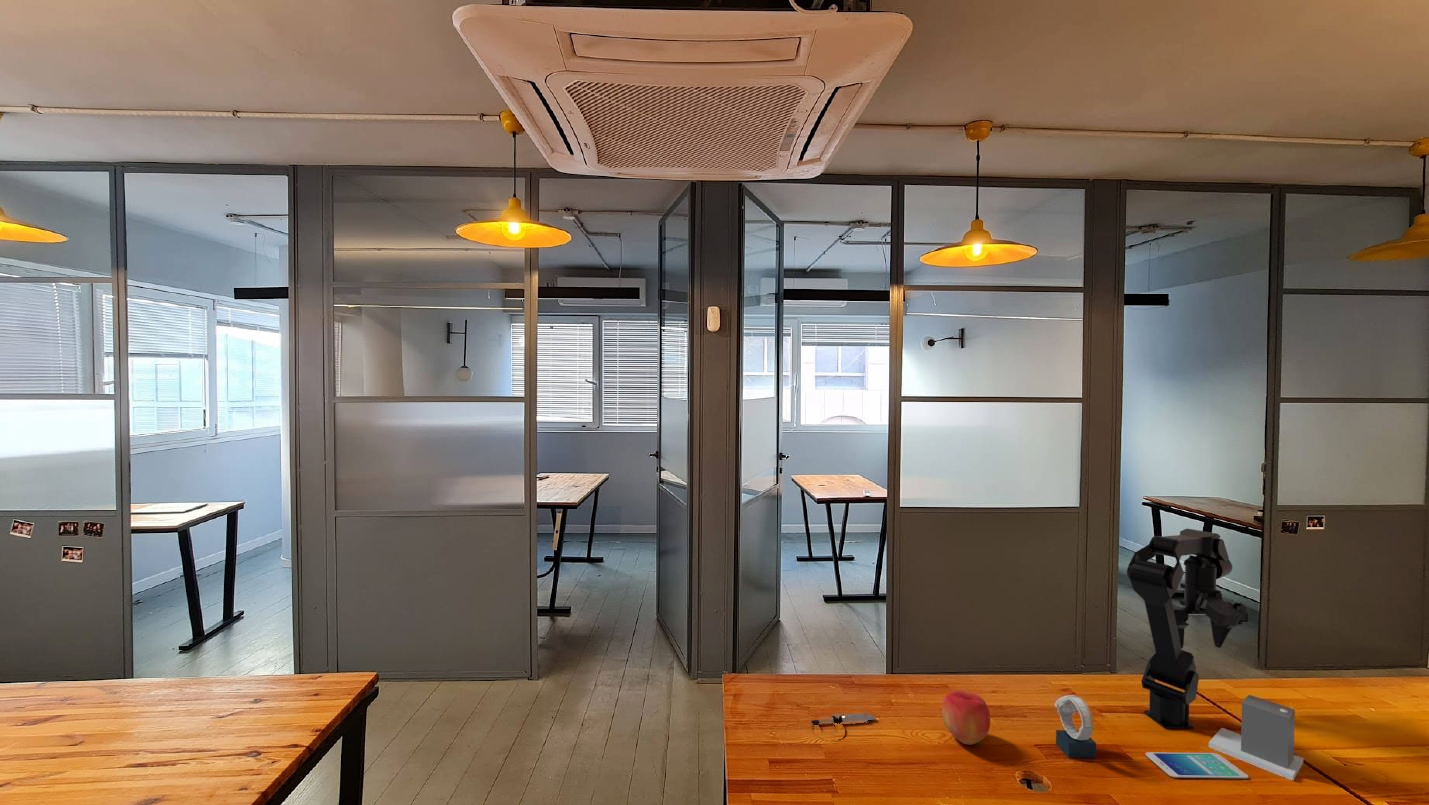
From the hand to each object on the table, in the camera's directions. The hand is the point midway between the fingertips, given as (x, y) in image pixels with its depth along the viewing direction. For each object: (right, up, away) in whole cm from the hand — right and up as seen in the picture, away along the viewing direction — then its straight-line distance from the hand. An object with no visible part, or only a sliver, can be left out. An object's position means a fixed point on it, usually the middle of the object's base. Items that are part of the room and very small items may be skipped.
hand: (1199, 647), depth 135 cm
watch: (-42, -14, -18) cm, 48 cm away
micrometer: (-87, -14, -11) cm, 89 cm away
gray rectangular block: (-5, -13, -21) cm, 25 cm away
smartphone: (-21, -14, -23) cm, 34 cm away
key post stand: (-6, -13, -20) cm, 25 cm away
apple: (-63, -14, -15) cm, 66 cm away
